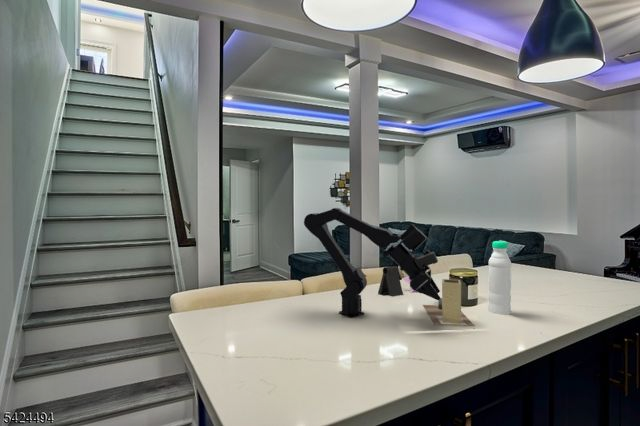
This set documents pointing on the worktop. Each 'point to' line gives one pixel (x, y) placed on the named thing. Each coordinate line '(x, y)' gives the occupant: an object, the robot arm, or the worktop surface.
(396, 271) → the phone stand
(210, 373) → the worktop surface
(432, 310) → the shaft board
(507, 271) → the water bottle
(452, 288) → the sleeve
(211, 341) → the worktop surface
